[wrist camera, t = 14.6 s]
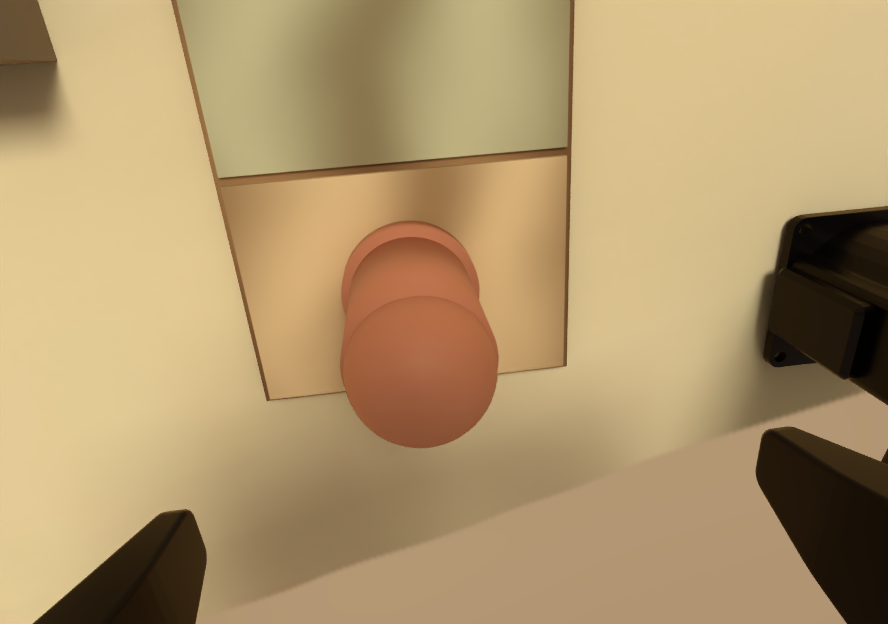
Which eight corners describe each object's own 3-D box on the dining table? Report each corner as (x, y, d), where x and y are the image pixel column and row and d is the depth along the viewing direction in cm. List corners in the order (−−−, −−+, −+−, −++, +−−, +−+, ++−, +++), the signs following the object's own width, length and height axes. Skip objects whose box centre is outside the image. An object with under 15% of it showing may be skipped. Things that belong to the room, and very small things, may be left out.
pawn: (471, 214, 19) (529, 304, 12) (478, 336, 21) (530, 482, 14) (333, 227, 19) (302, 329, 11) (352, 350, 21) (336, 506, 13)
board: (579, -622, 13) (591, -665, 12) (562, 359, 23) (568, 368, 22) (31, -624, 12) (7, -671, 11) (269, 392, 22) (265, 403, 21)
